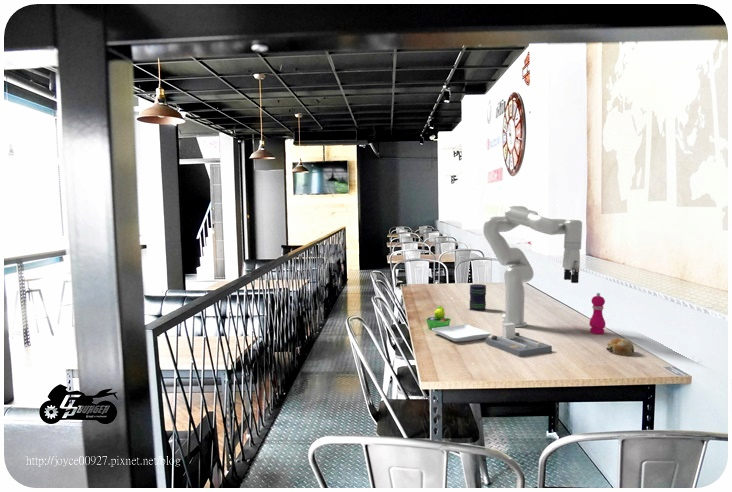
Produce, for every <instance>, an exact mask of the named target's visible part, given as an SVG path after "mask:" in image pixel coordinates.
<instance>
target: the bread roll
mask: <svg viewBox="0 0 732 492" xmlns="http://www.w3.org/2000/svg"><path fill="white" fill-rule="evenodd" d="M606 351H608V352H609V353H611V354H613V355H618V356H634V355H635V353H634V352H635V347H634V344H633V343H632V342H631V341H630V340H628V339H626V338H622V337H617V338H614V339H611V340H610V341H609V342H608V343H607V347H606Z"/></svg>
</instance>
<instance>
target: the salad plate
mask: <svg viewBox="0 0 732 492" xmlns="http://www.w3.org/2000/svg"><path fill="white" fill-rule="evenodd" d="M431 330H432V332H434V334H436V335H439V336H441V337H444V338H445V339H448V340H451V341H453V342H456V343H461V342H469V341H477V340H482V339H486V338H489V337H490V336H492V332H489V331H487V330H484V329H481V328H478V327H475V326H472V325H468V324H457V325H456V324H455V325H449V326H446V327H438V328H432V329H431Z"/></svg>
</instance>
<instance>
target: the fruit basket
mask: <svg viewBox="0 0 732 492" xmlns="http://www.w3.org/2000/svg"><path fill="white" fill-rule="evenodd" d="M433 314H434V316H429V317H427V318H426V319H425V321H426V324H427V327H428V329H429V330H432V328H438V327H446V326H450V324H451V318H447V317H445V316H446V313H445V308H444V307H443V306H441V305H438V306H437V308H436V310H435V311H434V313H433Z"/></svg>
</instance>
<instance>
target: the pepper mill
mask: <svg viewBox="0 0 732 492" xmlns="http://www.w3.org/2000/svg"><path fill="white" fill-rule="evenodd" d="M605 303H606V299H605V298H604V297H603V296H601V293H599V292H596V294H595V296H592V298H591V304H592V310H593V311H592V312H593V313H592V316H591V318H590V320H589V324H588V325H589V326H590V329H589V332H590V333H591V334H594V335H595V334H596V335H604V334H605V329H604V328H605V327H606V320H605V319H604V315H603V310H604V305H605Z"/></svg>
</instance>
